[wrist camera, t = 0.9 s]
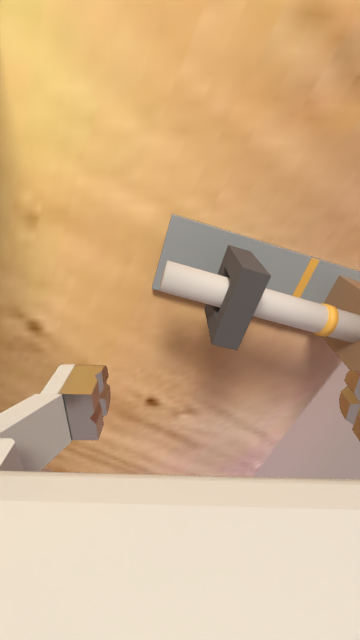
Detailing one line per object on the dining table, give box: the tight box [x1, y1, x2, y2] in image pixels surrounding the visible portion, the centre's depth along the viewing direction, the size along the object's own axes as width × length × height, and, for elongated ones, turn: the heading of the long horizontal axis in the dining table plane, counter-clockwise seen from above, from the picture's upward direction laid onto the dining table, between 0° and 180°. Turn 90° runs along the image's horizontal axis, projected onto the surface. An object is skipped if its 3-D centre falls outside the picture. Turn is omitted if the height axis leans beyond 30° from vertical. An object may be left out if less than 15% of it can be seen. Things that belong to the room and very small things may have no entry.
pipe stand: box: [152, 214, 360, 371], centre depth 32 cm, size 25×9×12 cm, turn 74°
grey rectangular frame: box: [205, 245, 271, 350], centre depth 29 cm, size 2×8×8 cm, turn 164°
